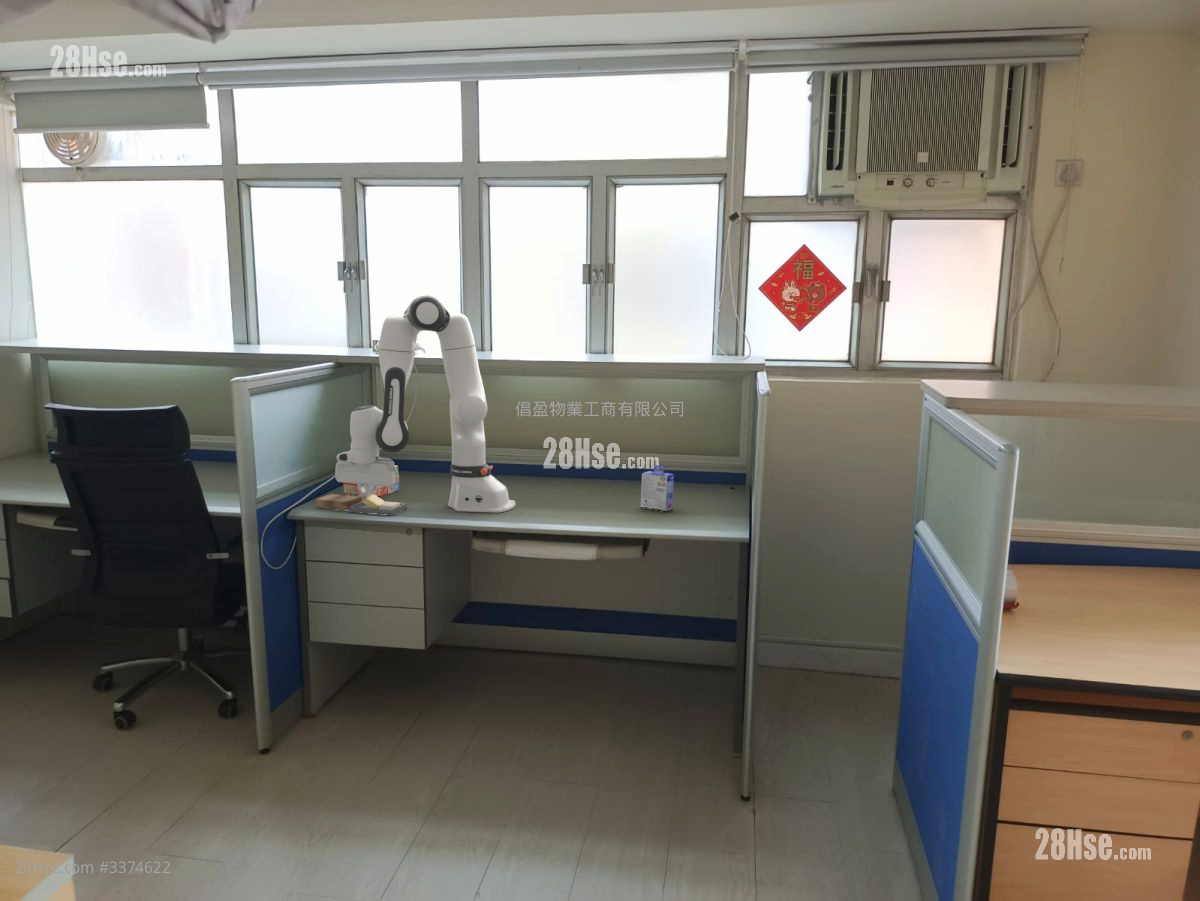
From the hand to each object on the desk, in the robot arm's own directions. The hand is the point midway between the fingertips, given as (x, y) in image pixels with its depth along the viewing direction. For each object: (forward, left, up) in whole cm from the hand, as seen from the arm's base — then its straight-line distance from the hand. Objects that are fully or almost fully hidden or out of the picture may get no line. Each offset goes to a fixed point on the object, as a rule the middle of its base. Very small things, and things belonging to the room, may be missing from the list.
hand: (365, 497), depth 264 cm
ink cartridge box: (-90, -33, -4) cm, 96 cm away
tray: (-4, 0, -4) cm, 6 cm away
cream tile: (-9, 0, -1) cm, 9 cm away
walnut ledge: (+10, 0, -4) cm, 11 cm away
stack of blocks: (+8, -18, -4) cm, 20 cm away
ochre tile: (-3, 0, -2) cm, 4 cm away
